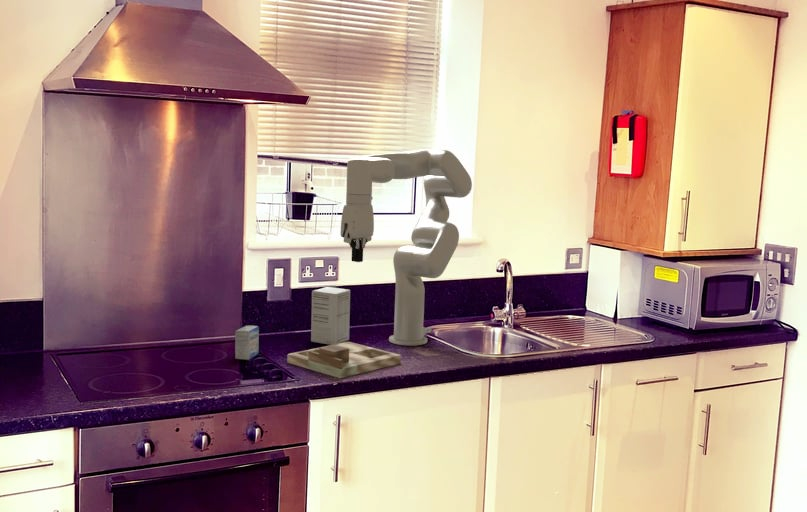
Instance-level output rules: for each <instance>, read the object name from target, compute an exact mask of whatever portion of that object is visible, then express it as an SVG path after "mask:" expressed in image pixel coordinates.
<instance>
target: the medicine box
mask: <svg viewBox="0 0 807 512" xmlns="http://www.w3.org/2000/svg"><path fill="white" fill-rule="evenodd" d="M259 332H260V327H259V326H258V325H244V326H242V327H240V328H239V329H236V330H235V333H234V335H235V336H234V337H235V338H234V339H235V341H234V342H235V343H234V344H235V345H234V352H235V353H234V354H235V356H234V357H235V359H236V360H245V361H250V360H251V359H253V358H254V357H256V356H257V355H259V342H260V341H259V340H260V339H259V335H260V333H259Z"/></svg>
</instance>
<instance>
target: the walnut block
mask: <svg viewBox="0 0 807 512" xmlns="http://www.w3.org/2000/svg"><path fill="white" fill-rule="evenodd" d="M321 347H322V348H320V347H318V348H319V353H320V354H324V355H327V356H331V357H334V358H338V359H342V360H343V364H344V363H348V362H349V348H345V347H341V346H337V345H331V346H330V345H326V347H325V346H321Z"/></svg>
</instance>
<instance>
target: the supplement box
mask: <svg viewBox="0 0 807 512" xmlns="http://www.w3.org/2000/svg"><path fill="white" fill-rule="evenodd" d="M350 310H351V289H348V288H346V289H345V288H339V287H332V286H326V287H322V288H319V289H314V290H312V291H311V319H310V320H311V321H310V322H311V324H310V326H311V328H310V334H311V335H310V341H311V342H313V343H318V344H325V345H328V346H330V345H334V344H339V343H344V342H348V341H349V340H350V316H351V315H350V314H351V313H350V312H351V311H350Z"/></svg>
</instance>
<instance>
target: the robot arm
mask: <svg viewBox="0 0 807 512" xmlns="http://www.w3.org/2000/svg"><path fill="white" fill-rule="evenodd" d="M346 163H347V165H346V195H345V200H346V201H345V202H346V203H345V204H344V205H343V208H342V212H341V213H342V214H341V222H340V237H341V238H343V243H345V244H348V245H349V247H350V249H351V262H355V263H362V262H364V261H363V260H364V249H365V248H366V244H367V243H368V242H370V241H372V236H373V235H374V230H375V229H374V228H375V221H374V219H375V218H374V217H375V216H374V208H373V205H372V200H373V199H374V198H373V183H376V184H386V183H389V182H391V181H392V180H410V179H415V178H421V177H424V180H423V188H424V194H425V208H424V209H423V212H422V213H421V216H420V217H419V219H418V221H417V223H416V224H415V226H414V228H413V230H412V232H411V239H410V240H411V242H412V244H413V245H411V244H410V245H403V246H400V247H398V248H397V249H396V250H395V252H394V253H393V254H394V255H393V259H392V260H393V261H392V263H393V269H394V274H395V275H394V276H395V294H394V296H395V297H394V317H393V318H394V319H393V320H394V322H393V328H394V329H393V335H390V336H389V338H388V341H389V342H390V343H392V344H394V345H398V346H423V345H425V344H427V343H428V338H427V337H426V336H425V335H426V334H429V333H432V327H431V326H428V327H424V315H425V293H426V291H425V285H424V281H423V279H422V278H426V279H437V278H439V277H440V276H442V275H443V273H444V272H445V270H446V268H447V266H448V264H449V263H450V261H451V259H452V258H453V255H454V253H455V251H456V249H457V247H458V244H459V241H460V233H459V228H457V226H456V225H455V224H453V223H452V222H448V219H449V218H450V208H449V205H448V204H447V201H446V198H445V197H449V198H458V199H459V198H460V199H461V198H465V197H467V196H468V195H470V193H471V191H472V187H473V183H472V178H471V176H470V174H469V172H468V171H467V169H466V168H465V167H464V165H463V164H462V162H461V161H460V160H459V159H458V157H457V156H456V155H455V153H453V152H452V151H450V150H448V149H430V148H429V149H418V150H410V151H402V152H391V153H382V154H380V153H379V154H370V155H362V156H358V157H355V158H354V157H353V158H349V159H348V160H347V162H346Z"/></svg>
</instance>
